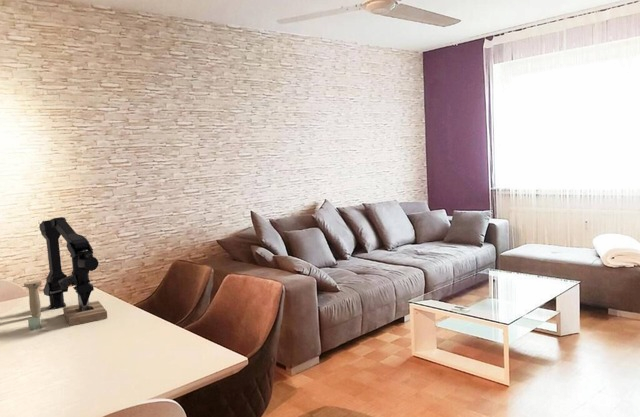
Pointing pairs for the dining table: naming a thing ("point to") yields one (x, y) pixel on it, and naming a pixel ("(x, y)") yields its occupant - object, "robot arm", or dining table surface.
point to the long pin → (81, 307)
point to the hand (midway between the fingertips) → (83, 304)
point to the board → (84, 313)
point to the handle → (34, 297)
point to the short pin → (34, 323)
